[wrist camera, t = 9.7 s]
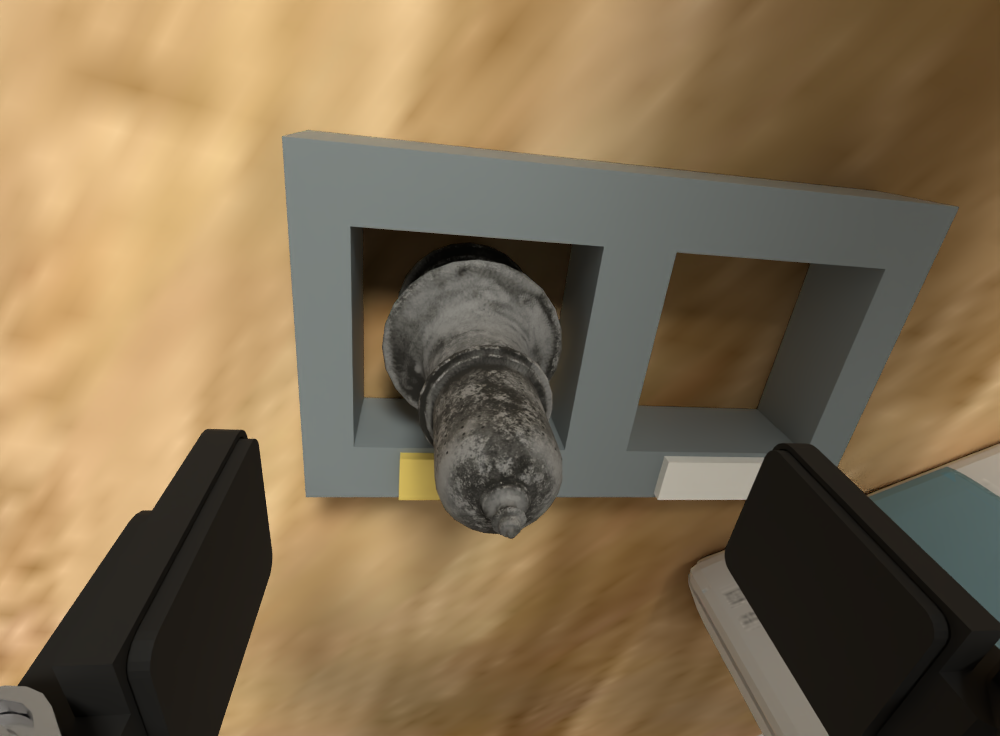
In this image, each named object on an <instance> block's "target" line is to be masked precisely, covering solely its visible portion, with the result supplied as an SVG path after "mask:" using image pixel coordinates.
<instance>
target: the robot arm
mask: <svg viewBox="0 0 1000 736" xmlns="http://www.w3.org/2000/svg"><path fill="white" fill-rule="evenodd" d="M724 556H725V563H726V566H727V568H728V570H729V572H730V573H731V575H732V577H733V578H734V580H735V581H736V583H737V585H738V586H739V588H740V590H741V591H742V593H743V595H744V596H745V598H746V600H747V601H748V603H749V605H750V606H751V608H752V610H753V611H754V613H755V614H756V616H757V618H758V619H759V621H760V623H761V624H762V626H763V628H764V629H765V631H766V633H767V634H768V636H769V638H770V639H771V641H772V642H773V644H774V646H775V647H776V649H777V651H778V652H779V654H780V656H781V657H782V659H783V661H784V662H785V664H786V666H787V667H788V669H789V670H790V672H791V674H792V675H793V677H794V679H795V680H796V682H797V684H798V685H799V687H800V689H801V690H802V692H803V694H804V695H805V697H806V699H807V700H808V702H809V703H810V705H811V707H812V708H813V710H814V712H815V713H816V715H817V717H818V718H819V720H820V722H821V723H822V725H823V727H824V728H825V730H826V731H827V733H828V735H829V736H1000V649H999V648H998V647H997V646H996V645H995V644H996V643H997V641H998V640H999V639H1000V622H999V621H998V620H997V619H995V618H994V617H993V616H992V615H991V614H990V613H989V612H988V611H987V610H986V609H985V608H984V607H983V606H982V605H981V604H980V603H979V602H978V601H977V600H976V599H975V598H974V597H972V596H971V595H970V594H969V593H968V592H967V591H966V590H965V589H964V588H963V587H962V586H961V585H960V584H959V583H958V582H957V581H956V580H955V579H954V578H953V577H952V576H950V575H949V574H948V573H947V572H946V571H945V570H944V569H943V568H942V567H941V566H940V565H939V564H938V563H937V562H936V561H935V560H934V559H933V558H932V557H931V556H930V555H928V554H927V553H926V552H925V551H924V550H923V549H922V548H921V547H920V546H919V545H918V544H917V543H916V542H915V541H914V540H913V539H912V538H911V537H910V536H909V535H908V534H906V533H905V532H904V531H903V530H902V529H901V528H900V527H899V526H898V525H897V524H896V523H895V522H894V521H893V520H892V519H891V518H890V517H889V516H888V515H887V514H886V513H884V512H883V511H882V510H881V509H880V508H879V507H878V506H877V505H876V504H875V503H874V502H873V501H872V500H871V499H870V498H869V497H868V496H867V495H866V494H865V493H864V492H863V491H861V490H860V489H859V488H858V487H857V486H856V485H855V484H854V483H853V482H852V481H851V480H850V479H849V478H848V477H847V476H846V475H845V474H844V473H843V472H842V471H841V470H839V469H838V468H837V467H836V466H835V465H834V464H833V463H832V462H831V461H830V460H829V459H828V458H827V457H826V456H825V455H824V454H823V453H822V452H821V451H820V450H819V449H817V448H816V447H815V446H813V445H811V444H806V443H780V444H777V445H776V446H775V447H774V448H773V450H772V451H769V452H768V453H767V454H766V456H765V457H764V460H763V462H762V464H761V467H760V469H759V471H758V474H757V476H756V478H755V481H754V483H753V485H752V488H751V490H750V492H749V495H748V497H747V499H746V502H745V504H744V506H743V509H742V511H741V513H740V516H739V518H738V520H737V523H736V525H735V527H734V530H733V532H732V534H731V537H730V539H729V541H728V544H727V546H726V549H725V555H724ZM271 567H272V547H271V539H270V531H269V523H268V515H267V507H266V499H265V491H264V483H263V475H262V467H261V459H260V451H259V444H258V441H257V440H256V439H248V438H247V435H246V433H245V431H243V430H224V429H207V430H205V431H204V432H203V433H202V434H201V436H200V437H199V439H198V440H197V442H196V443H195V445H194V446H193V448H192V450H191V451H190V453H189V454H188V456H187V457H186V459H185V460H184V462H183V464H182V465H181V467H180V468H179V470H178V471H177V473H176V474H175V476H174V477H173V479H172V481H171V482H170V484H169V485H168V487H167V488H166V490H165V491H164V493H163V495H162V496H161V498H160V499H159V501H158V502H157V504H156V505H155V507H154V508H153V510H152V511H141V512H139V513H137V514H136V515H135V516H134V517H133V518H132V519H131V520H130V522H129V523H128V524H127V526H126V527H125V529H124V530H123V532H122V533H121V535H120V536H119V537H118V539H117V540H116V542H115V543H114V545H113V546H112V548H111V549H110V551H109V552H108V554H107V555H106V557H105V558H104V560H103V561H102V562H101V564H100V565H99V567H98V568H97V570H96V571H95V573H94V574H93V576H92V577H91V579H90V580H89V582H88V583H87V584H86V586H85V587H84V589H83V590H82V592H81V593H80V595H79V596H78V598H77V599H76V601H75V602H74V604H73V605H72V607H71V608H70V609H69V611H68V612H67V614H66V615H65V617H64V618H63V620H62V621H61V623H60V624H59V626H58V627H57V629H56V630H55V631H54V633H53V634H52V636H51V637H50V639H49V640H48V642H47V643H46V645H45V646H44V648H43V649H42V651H41V652H40V654H39V655H38V656H37V658H36V659H35V661H34V662H33V664H32V665H31V667H30V668H29V670H28V671H27V673H26V674H25V676H24V677H23V678H22V680H21V681H20V683H19V684H18V686H1V687H0V736H218V734H219V731H220V728H221V725H222V721H223V718H224V715H225V712H226V709H227V706H228V703H229V700H230V697H231V694H232V691H233V688H234V684H235V681H236V678H237V675H238V672H239V669H240V666H241V663H242V660H243V657H244V654H245V650H246V647H247V644H248V641H249V638H250V635H251V632H252V629H253V626H254V623H255V620H256V617H257V613H258V610H259V607H260V604H261V601H262V598H263V595H264V592H265V589H266V586H267V583H268V579H269V576H270V573H271Z"/></svg>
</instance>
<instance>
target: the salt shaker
mask: <svg viewBox="0 0 1000 736" xmlns="http://www.w3.org/2000/svg"><path fill="white" fill-rule="evenodd" d="M382 350H383V355H384V361H385V367H386V370H387V372H388V374H389V376H390V378H391V380H392V382H393V384H394V386H395V388H396V390H397V391H398V392H399V393H400V394H401V395H402V396H403V397H404V398H405V400H406V401H407V402H408V403H409V404H410V405H412V406H413V407H415V408H416V409H418V416H419V423H420V427H421V429H422V431H423V433H424V435H425V437H426V439H427V440H428V441H429V443H430V444H431V445H432V446H433V447H434V477H435V484H436V490H437V493H438V495H439V498H440V500H441V502H442V504H443V506H444V508H445V510H446V511H447V512H448V513H449V514H450V515H451V516H452V517H453V518H454V519H455V520H456V521H458V522H460V523H461V524H463V525H465V526H466V527H468V528H470V529H472V530H476V531H479V532H483V533H492V534H500V535H503V536H505V537H508V538H510V539H512V538H514V537H515V536H516V535H517V534H518V533H519V532H520V531H521V530H522V529H523V528H524V527H526V526H528V525H529V524H531V523H533V522H534V521H536V520H537V519H538V518H539V517H540V516H541V515H543V514H544V513H545V512H546V511H547V509H548V508H549V507H550V506H551V504H552V503H553V501H554V500H555V498H556V497H557V495H558V493H559V490H560V487H561V484H562V456H561V453H560V450H559V447H558V444H557V442H556V439H555V437H554V434H553V431H552V429H551V426H550V424H549V419H550V416H551V412H552V391H551V388H550V384H549V381H550V380H551V378H552V376H553V375H554V373H555V371H556V368H557V365H558V361H559V357H560V354H561V326H560V323H559V319H558V316H557V313H556V309H555V307H554V306H553V304H552V303H551V301H550V300H549V298H548V297H547V295H546V294H545V292H544V290H543V289H542V288H541V287H540V286H539V285H537V284H536V283H535V282H534V281H533V280H532V279H530V278H529V277H528V276H527V275H526V274H524V273H523V272H522V271H521V269H520V267H519V266H518V265H517V264H516V263H515V262H513V261H512V260H511V259H510V258H509V257H508V256H507V255H505V254H504V253H502V252H500V251H497V250H495V249H493V248H491V247H489V246H485V245H479V244H473V243H463V244H451V245H448V246H445V247H443V248H440V249H437V250H434V251H432V252H431V253H429V254H428V255H427V256H425V257H424V258H422V259H421V260H420V261H418V262H417V263H416V264H415V266H414V267H413V268H412V269H411V271H410V272H409V273H408V274H407V275H406V277H405V280H404V282H403V284H402V287H401V289H400V291H399V296H398V299H397V300H396V302H395V303H394V305H393V307H392V309H391V312H390V314H389V316H388V319H387V321H386V323H385V328H384V337H383V345H382Z"/></svg>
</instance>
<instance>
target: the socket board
mask: <svg viewBox="0 0 1000 736" xmlns="http://www.w3.org/2000/svg"><path fill="white" fill-rule="evenodd" d="M282 143H283V158H284V173H285V189H286V204H287V219H288V234H289V249H290V264H291V279H292V294H293V309H294V324H295V339H296V354H297V370H298V385H299V400H300V415H301V430H302V445H303V460H304V475H305V490H306V497H399V500H440V498H439V495H438V493H437V490H436V484H435V477H434V447H433V446H432V445H431V444H430V443H429V441H428V440H427V439H426V437H425V435H424V433H423V431H422V429H421V427H420V423H419V416H418V409H416V408H415V407H413V406H412V405H410V404H409V403H408V402H407V401H406V400H405V399H396V398H364V329H363V227H365V228H378V229H390V230H403V231H415V232H428V233H440V234H453V235H465V236H478V237H490V238H503V239H515V240H528V241H540V242H553V243H565V244H572V247H571V253H570V259H569V265H568V271H567V277H566V283H565V290H564V296H563V302H562V308H561V314H560V320H559V323H560V326H561V354H560V357H559V361H558V365H557V368H556V371H555V373H554V375H553V376H552V378H551V380H550V381H549V384H550V388H551V391H552V412H551V416H550V419H549V424H550V426H551V429H552V431H553V434H554V437H555V439H556V442H557V444H558V447H559V450H560V453H561V456H562V484H561V487H560V490H559V493H558V495H557V497H656V498H657V500H746V499H747V497H748V495H749V492H750V490H751V488H752V485H753V483H754V481H755V478H756V476H757V474H758V471H759V469H760V467H761V464H762V462H763V460H764V457H765V456H766V454H767V453H768V452H769V451H772V450H773V448H774V447H775V446H776V445H777V444H780V443H806V444H811V445H813V446H815V447H816V448H817V449H819V450H820V451H821V452H822V453H823V454H824V455H825V456H826V457H827V458H828V459H829V460H830V461H831V462H832V463H833V464H834V465H835V466H836V467H837V466H838V464H839V462H840V460H841V458H842V456H843V453H844V451H845V449H846V447H847V445H848V443H849V441H850V438H851V436H852V434H853V432H854V430H855V428H856V426H857V424H858V421H859V419H860V417H861V415H862V413H863V411H864V409H865V407H866V404H867V402H868V400H869V398H870V396H871V394H872V392H873V390H874V387H875V385H876V383H877V381H878V379H879V377H880V375H881V372H882V370H883V368H884V366H885V364H886V362H887V360H888V358H889V355H890V353H891V351H892V349H893V347H894V345H895V343H896V341H897V338H898V336H899V334H900V332H901V330H902V328H903V326H904V323H905V321H906V319H907V317H908V315H909V313H910V311H911V309H912V306H913V304H914V302H915V300H916V298H917V296H918V294H919V292H920V289H921V287H922V285H923V283H924V281H925V279H926V277H927V275H928V272H929V270H930V268H931V266H932V264H933V262H934V260H935V257H936V255H937V253H938V251H939V249H940V247H941V245H942V243H943V240H944V238H945V236H946V234H947V232H948V230H949V228H950V226H951V223H952V221H953V219H954V217H955V215H956V213H957V211H958V208H959V207H957V206H952V205H947V204H942V203H937V202H931V201H926V200H921V199H916V198H911V197H906V196H901V195H895V194H890V193H885V192H880V191H872V190H863V189H854V188H844V187H835V186H826V185H816V184H807V183H798V182H788V181H779V180H770V179H760V178H751V177H742V176H732V175H723V174H713V173H704V172H695V171H685V170H676V169H667V168H657V167H648V166H639V165H629V164H620V163H611V162H601V161H592V160H583V159H573V158H564V157H554V156H545V155H536V154H526V153H517V152H508V151H498V150H489V149H480V148H470V147H461V146H452V145H442V144H433V143H424V142H414V141H405V140H395V139H386V138H377V137H367V136H358V135H349V134H339V133H330V132H321V131H311V130H306V131H302V132H298V133H294V134H289V135H285V136H282ZM677 252H678V253H691V254H703V255H716V256H728V257H741V258H753V259H766V260H778V261H791V262H803V263H811V264H810V266H809V269H808V272H807V275H806V277H805V280H804V283H803V285H802V288H801V291H800V294H799V296H798V299H797V302H796V305H795V307H794V310H793V313H792V315H791V318H790V321H789V324H788V326H787V329H786V332H785V334H784V337H783V340H782V343H781V345H780V348H779V351H778V353H777V356H776V359H775V362H774V364H773V367H772V370H771V372H770V375H769V378H768V381H767V383H766V386H765V389H764V392H763V394H762V397H761V400H760V402H759V405H758V408H757V409H735V408H701V407H668V406H638V403H639V399H640V395H641V391H642V387H643V383H644V379H645V375H646V371H647V367H648V363H649V359H650V356H651V352H652V348H653V344H654V340H655V336H656V332H657V328H658V324H659V320H660V316H661V312H662V308H663V304H664V300H665V296H666V292H667V288H668V285H669V281H670V277H671V273H672V269H673V265H674V261H675V257H676V253H677Z"/></svg>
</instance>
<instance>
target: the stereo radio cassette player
mask: <svg viewBox="0 0 1000 736" xmlns="http://www.w3.org/2000/svg"><path fill="white" fill-rule="evenodd" d="M867 496H868V497H869V498H870V499H871V500H872V501H873V502H874V503H875V504H876V505H877V506H878V507H879V508H880V509H881V510H882V511H883V512H884V513H886V514H887V515H888V516H889V517H890V518H891V519H892V520H893V521H894V522H895V523H896V524H897V525H898V526H899V527H900V528H901V529H902V530H903V531H904V532H905V533H906V534H908V535H909V536H910V537H911V538H912V539H913V540H914V541H915V542H916V543H917V544H918V545H919V546H920V547H921V548H922V549H923V550H924V551H925V552H926V553H927V554H928V555H930V556H931V557H932V558H933V559H934V560H935V561H936V562H937V563H938V564H939V565H940V566H941V567H942V568H943V569H944V570H945V571H946V572H947V573H948V574H949V575H950V576H952V577H953V578H954V579H955V580H956V581H957V582H958V583H959V584H960V585H961V586H962V587H963V588H964V589H965V590H966V591H967V592H968V593H969V594H970V595H971V596H972V597H974V598H975V599H976V600H977V601H978V602H979V603H980V604H981V605H982V606H983V607H984V608H985V609H986V610H987V611H988V612H989V613H990V614H991V615H992V616H993V617H994V618H995V619H997V620H998V621H999V622H1000V443H999V444H996V445H994V446H991V447H989V448H986V449H984V450H981V451H978V452H976V453H973V454H971V455H968V456H966V457H963V458H960V459H958V460H955V461H953V462H950V463H947V464H945V465H942V466H940V467H937V468H935V469H932V470H929V471H927V472H924V473H922V474H919V475H917V476H914V477H911V478H909V479H906V480H904V481H901V482H899V483H896V484H893V485H891V486H888V487H886V488H883V489H880V490H878V491H875V492H873V493H870V494H868V495H867ZM724 555H725V550H723V551H721V552H718V553H716V554H713V555H710V556H706V557H704V558H703V559H700V560H699V561H698V562H697V564H696V565H695V566H694V567H692V568H691V570H690V573H689V574H688V584H689V587H690V590H691V593H692V596H693V599H694V602H695V605H696V608H697V610H698V612H699V614H700V616H701V619H702V621H703V623H704V625H705V627H706V629H707V631H708V633H709V634H710V636H711V638H712V640H713V642H714V644H715V646H716V648H717V649H718V651H719V653H720V655H721V657H722V659H723V661H724V662H725V664H726V666H727V668H728V670H729V672H730V674H731V676H732V677H733V679H734V681H735V683H736V685H737V687H738V689H739V690H740V692H741V694H742V696H743V698H744V700H745V702H746V704H747V705H748V707H749V709H750V711H751V713H752V715H753V717H754V718H755V720H756V722H757V724H758V726H759V728H760V730H761V732H762V733H763V735H764V736H829V735H828V733H827V731H826V730H825V728H824V727H823V725H822V723H821V722H820V720H819V718H818V717H817V715H816V713H815V712H814V710H813V708H812V707H811V705H810V703H809V702H808V700H807V699H806V697H805V695H804V694H803V692H802V690H801V689H800V687H799V685H798V684H797V682H796V680H795V679H794V677H793V675H792V674H791V672H790V670H789V669H788V667H787V666H786V664H785V662H784V661H783V659H782V657H781V656H780V654H779V652H778V651H777V649H776V647H775V646H774V644H773V642H772V641H771V639H770V638H769V636H768V634H767V633H766V631H765V629H764V628H763V626H762V624H761V623H760V621H759V619H758V618H757V616H756V614H755V613H754V611H753V610H752V608H751V606H750V605H749V603H748V601H747V600H746V598H745V596H744V595H743V593H742V591H741V590H740V588H739V586H738V585H737V583H736V581H735V580H734V578H733V577H732V575H731V573H730V572H729V570H728V568H727V566H726V563H725V556H724ZM995 645H996V646H997V647H998V648H999V649H1000V639H999V640H998V641H997V643H996V644H995Z"/></svg>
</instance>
